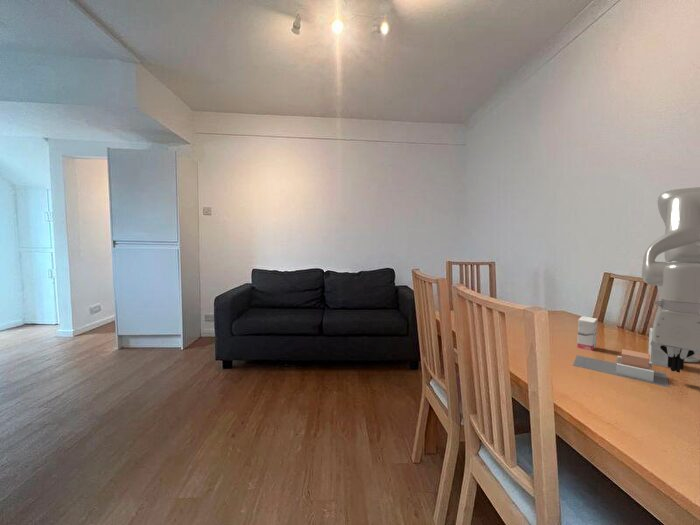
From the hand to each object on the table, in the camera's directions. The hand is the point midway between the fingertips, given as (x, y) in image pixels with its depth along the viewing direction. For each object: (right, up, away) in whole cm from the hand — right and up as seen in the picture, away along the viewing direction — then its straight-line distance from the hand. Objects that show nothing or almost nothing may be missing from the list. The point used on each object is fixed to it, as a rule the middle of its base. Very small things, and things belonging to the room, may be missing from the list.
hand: (675, 370), depth 86 cm
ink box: (-2, -3, +30) cm, 30 cm away
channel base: (-9, -4, +9) cm, 13 cm away
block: (-6, -3, +6) cm, 9 cm away
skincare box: (+9, -4, +14) cm, 18 cm away
